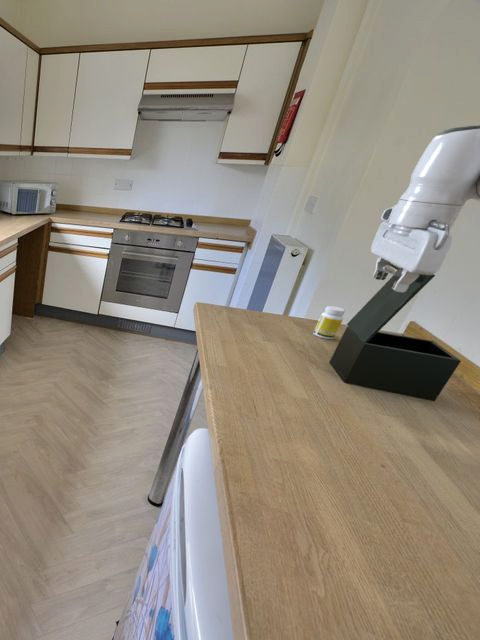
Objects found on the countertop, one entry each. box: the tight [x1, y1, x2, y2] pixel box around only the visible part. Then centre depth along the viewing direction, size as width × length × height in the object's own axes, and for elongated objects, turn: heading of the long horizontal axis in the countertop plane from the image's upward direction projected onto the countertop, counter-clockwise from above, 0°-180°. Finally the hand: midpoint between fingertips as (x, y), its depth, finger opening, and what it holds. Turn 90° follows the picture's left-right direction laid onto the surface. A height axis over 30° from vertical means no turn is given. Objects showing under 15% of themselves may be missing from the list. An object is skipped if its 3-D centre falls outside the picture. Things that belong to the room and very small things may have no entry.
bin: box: [329, 326, 462, 402], centre depth 91 cm, size 16×11×10 cm
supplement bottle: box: [312, 305, 346, 340], centre depth 114 cm, size 5×5×8 cm
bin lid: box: [346, 263, 436, 343], centre depth 88 cm, size 16×11×4 cm
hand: (387, 284), depth 86 cm, fingers open, 8 cm apart
